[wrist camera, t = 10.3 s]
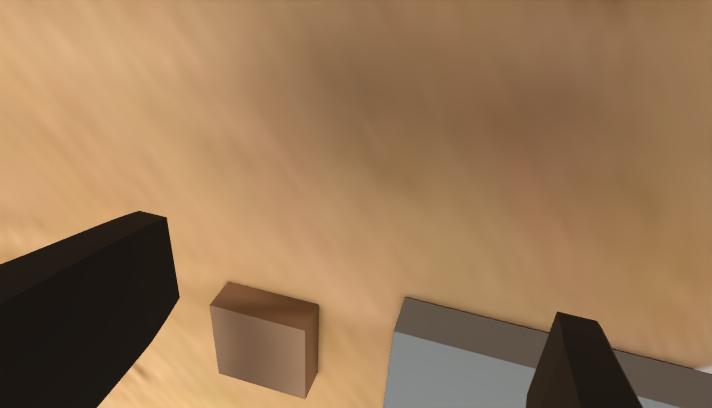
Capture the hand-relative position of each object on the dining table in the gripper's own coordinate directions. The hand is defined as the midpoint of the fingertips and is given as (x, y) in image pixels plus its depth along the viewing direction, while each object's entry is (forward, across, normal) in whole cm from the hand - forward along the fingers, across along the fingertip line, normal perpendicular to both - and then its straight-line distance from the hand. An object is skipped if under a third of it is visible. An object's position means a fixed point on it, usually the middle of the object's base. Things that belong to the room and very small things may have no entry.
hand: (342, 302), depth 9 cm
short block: (+10, +6, +12) cm, 17 cm away
